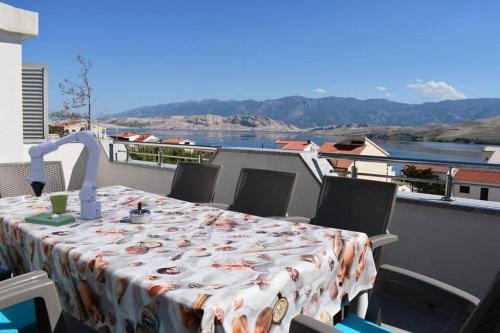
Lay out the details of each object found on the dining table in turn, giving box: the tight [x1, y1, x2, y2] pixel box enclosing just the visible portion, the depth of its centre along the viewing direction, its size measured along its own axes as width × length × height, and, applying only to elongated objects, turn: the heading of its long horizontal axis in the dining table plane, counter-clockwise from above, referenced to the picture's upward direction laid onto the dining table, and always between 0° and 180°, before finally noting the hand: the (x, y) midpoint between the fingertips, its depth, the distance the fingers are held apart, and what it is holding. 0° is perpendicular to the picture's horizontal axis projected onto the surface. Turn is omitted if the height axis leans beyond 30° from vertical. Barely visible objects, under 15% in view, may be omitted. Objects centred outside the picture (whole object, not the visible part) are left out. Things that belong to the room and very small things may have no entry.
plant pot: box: [48, 194, 69, 214], centre depth 210 cm, size 9×9×9 cm
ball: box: [51, 213, 60, 220], centre depth 191 cm, size 4×4×4 cm
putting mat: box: [24, 212, 76, 227], centre depth 191 cm, size 20×11×2 cm, turn 71°
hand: (38, 196), depth 198 cm, fingers closed
